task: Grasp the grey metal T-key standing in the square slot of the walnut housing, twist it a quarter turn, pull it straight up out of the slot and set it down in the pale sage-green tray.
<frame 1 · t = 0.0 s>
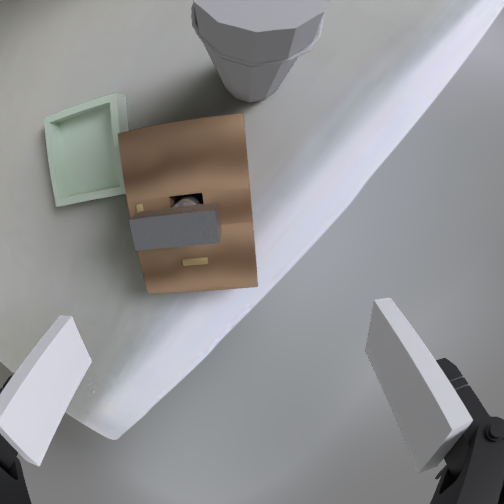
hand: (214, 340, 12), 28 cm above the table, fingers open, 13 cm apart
water bottle: (255, 71, 31), on the table
t key: (195, 201, 37), point 1 cm above the table, touching housing
tray: (92, 150, 34), on the table
housing: (196, 199, 37), on the table
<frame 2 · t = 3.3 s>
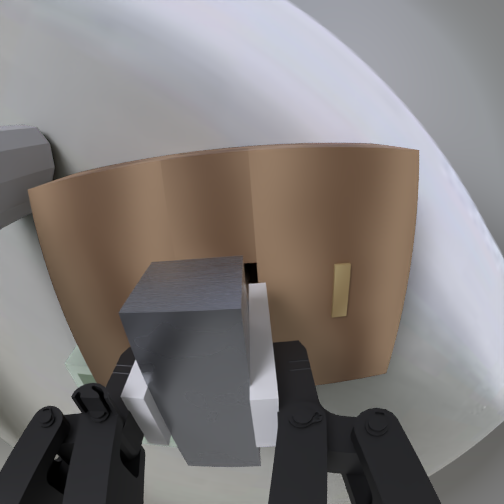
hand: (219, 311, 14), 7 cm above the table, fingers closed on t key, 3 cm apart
water bottle: (22, 162, 17), on the table
t key: (226, 259, 19), point 1 cm above the table, touching gripper, housing
tray: (154, 391, 25), on the table
housing: (228, 253, 20), on the table
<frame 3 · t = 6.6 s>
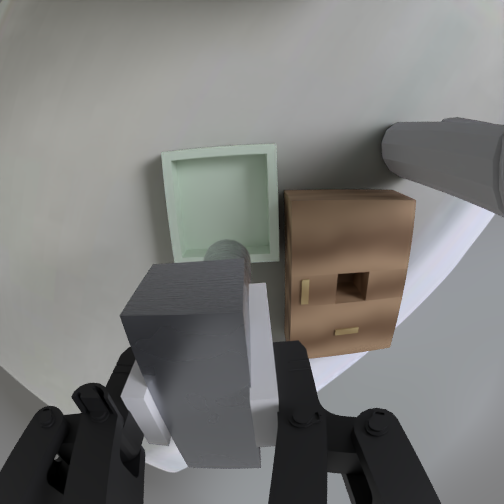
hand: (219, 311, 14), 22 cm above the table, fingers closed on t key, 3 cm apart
water bottle: (405, 144, 32), on the table
t key: (227, 261, 19), point 16 cm above the table, touching gripper
tray: (223, 201, 34), on the table
housing: (337, 266, 37), on the table
when the fingers open (8 cm above the table, at t = 10.1 s): t key drops 1 cm, resting on tray.
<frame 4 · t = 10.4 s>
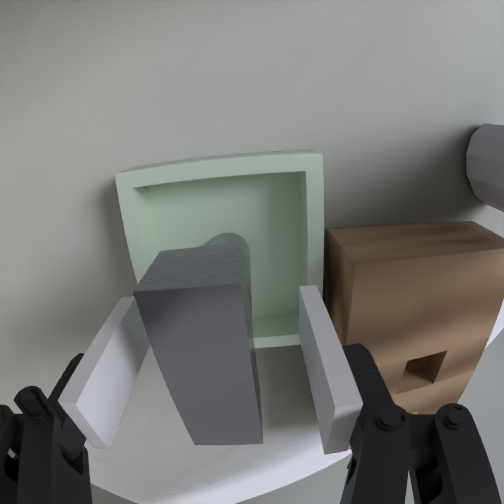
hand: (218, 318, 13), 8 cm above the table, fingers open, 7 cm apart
water bottle: (490, 155, 18), on the table
t key: (228, 253, 20), point 1 cm above the table, touching tray
tray: (228, 249, 21), on the table
housing: (394, 329, 24), on the table
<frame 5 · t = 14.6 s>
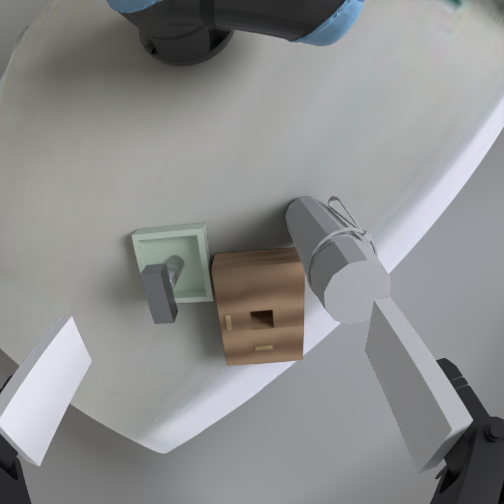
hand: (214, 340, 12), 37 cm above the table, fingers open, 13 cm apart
water bottle: (309, 211, 47), on the table
t key: (175, 263, 50), point 1 cm above the table, touching tray
tray: (176, 261, 50), on the table
housing: (260, 301, 53), on the table
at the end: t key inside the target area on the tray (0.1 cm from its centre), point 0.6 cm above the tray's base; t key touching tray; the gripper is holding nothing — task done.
